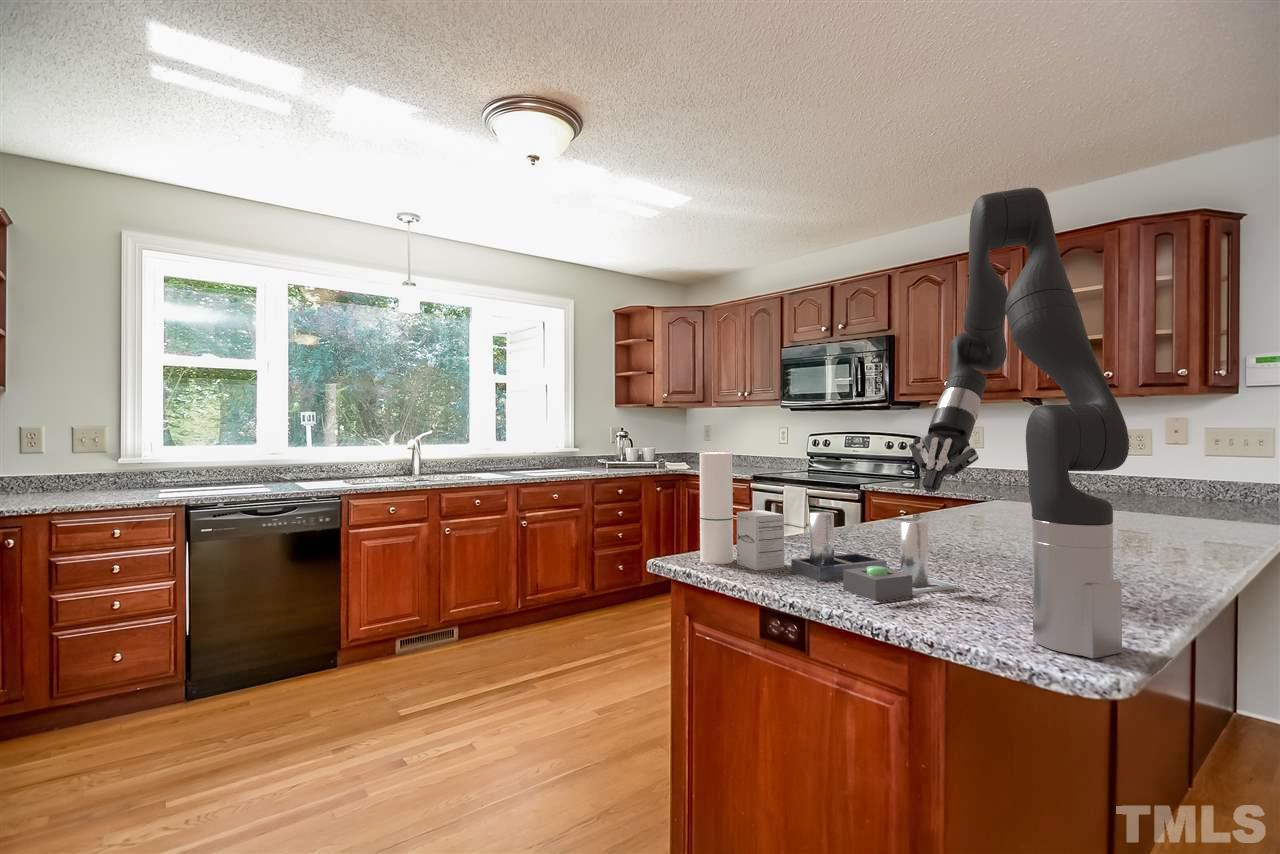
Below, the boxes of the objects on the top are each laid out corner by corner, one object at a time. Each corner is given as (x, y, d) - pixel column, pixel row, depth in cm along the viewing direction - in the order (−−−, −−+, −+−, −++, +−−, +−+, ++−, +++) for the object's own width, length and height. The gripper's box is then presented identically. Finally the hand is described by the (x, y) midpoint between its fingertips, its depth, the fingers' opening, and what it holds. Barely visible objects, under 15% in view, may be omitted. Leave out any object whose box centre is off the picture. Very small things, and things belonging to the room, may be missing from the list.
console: (912, 604, 107) (912, 575, 107) (875, 609, 104) (875, 579, 104) (878, 593, 114) (878, 566, 114) (843, 598, 111) (843, 569, 111)
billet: (933, 589, 114) (933, 523, 114) (914, 592, 112) (913, 525, 112) (914, 583, 118) (913, 520, 118) (895, 586, 116) (894, 521, 116)
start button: (891, 586, 108) (891, 569, 108) (876, 588, 107) (876, 570, 107) (877, 582, 111) (877, 565, 111) (862, 584, 110) (862, 567, 110)
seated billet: (839, 575, 122) (838, 514, 122) (819, 578, 120) (819, 515, 120) (824, 570, 126) (823, 511, 126) (805, 573, 124) (804, 512, 124)
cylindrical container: (732, 563, 140) (731, 452, 140) (734, 571, 133) (733, 453, 133) (700, 563, 141) (699, 452, 141) (700, 570, 134) (699, 453, 134)
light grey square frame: (957, 596, 112) (957, 585, 112) (914, 602, 108) (914, 590, 108) (914, 583, 121) (914, 573, 121) (873, 588, 118) (873, 578, 118)
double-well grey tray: (886, 581, 123) (886, 561, 123) (820, 589, 117) (819, 568, 117) (855, 571, 132) (855, 552, 132) (791, 578, 126) (791, 559, 126)
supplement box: (735, 570, 134) (735, 511, 134) (764, 567, 137) (763, 509, 137) (756, 578, 127) (755, 515, 127) (785, 574, 130) (785, 513, 130)
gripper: (915, 403, 126) (888, 475, 120) (986, 405, 117) (960, 484, 111) (926, 424, 131) (901, 495, 125) (996, 429, 121) (972, 505, 115)
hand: (929, 490), depth 118 cm, fingers closed
